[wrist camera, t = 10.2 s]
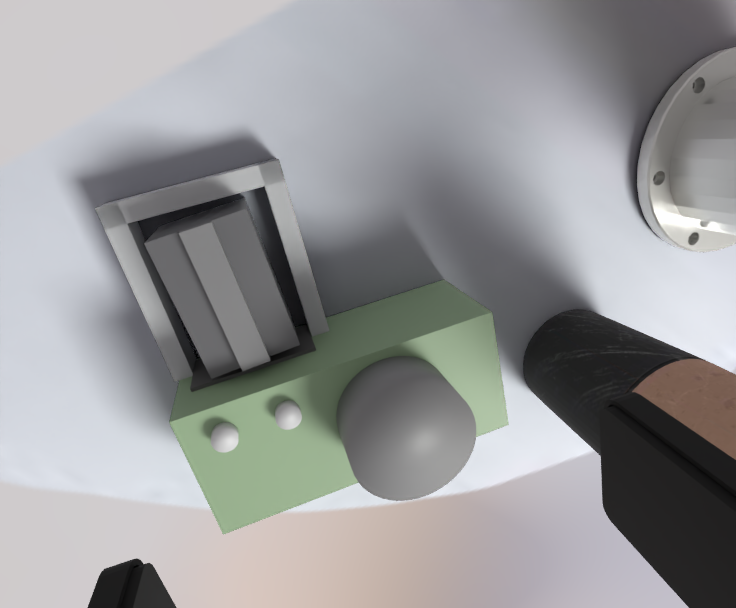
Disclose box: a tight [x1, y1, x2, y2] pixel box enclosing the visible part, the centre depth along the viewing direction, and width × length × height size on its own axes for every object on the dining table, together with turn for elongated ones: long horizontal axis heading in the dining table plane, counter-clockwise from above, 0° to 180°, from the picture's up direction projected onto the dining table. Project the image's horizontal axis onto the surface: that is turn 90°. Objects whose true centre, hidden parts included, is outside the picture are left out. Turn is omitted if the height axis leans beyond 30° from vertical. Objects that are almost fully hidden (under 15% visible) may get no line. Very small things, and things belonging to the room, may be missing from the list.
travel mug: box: [523, 310, 736, 460], centre depth 24 cm, size 8×8×20 cm
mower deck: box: [95, 158, 509, 534], centre depth 23 cm, size 16×16×9 cm
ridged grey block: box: [144, 198, 300, 379], centre depth 23 cm, size 4×7×5 cm, turn 17°
